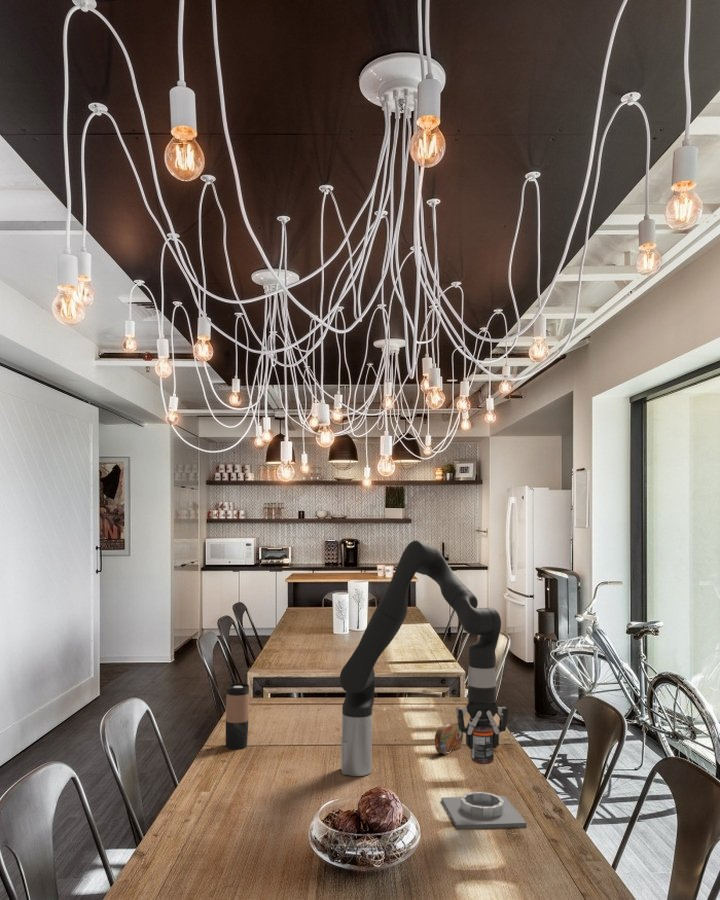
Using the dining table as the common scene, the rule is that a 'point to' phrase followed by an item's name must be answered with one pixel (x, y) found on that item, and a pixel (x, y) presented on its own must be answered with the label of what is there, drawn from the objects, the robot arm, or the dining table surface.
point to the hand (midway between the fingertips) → (482, 747)
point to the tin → (448, 738)
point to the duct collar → (478, 810)
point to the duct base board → (468, 822)
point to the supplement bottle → (482, 743)
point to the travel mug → (237, 715)
